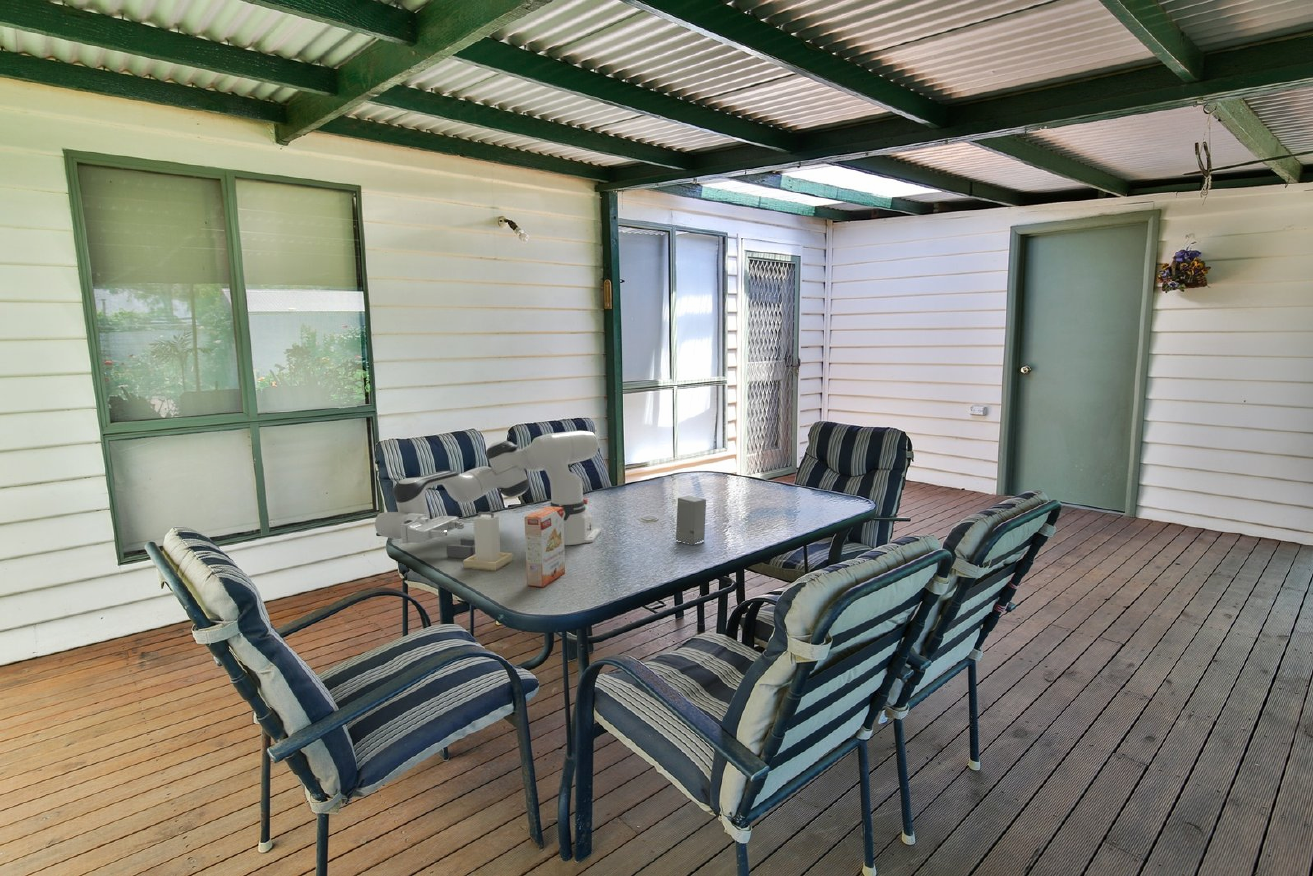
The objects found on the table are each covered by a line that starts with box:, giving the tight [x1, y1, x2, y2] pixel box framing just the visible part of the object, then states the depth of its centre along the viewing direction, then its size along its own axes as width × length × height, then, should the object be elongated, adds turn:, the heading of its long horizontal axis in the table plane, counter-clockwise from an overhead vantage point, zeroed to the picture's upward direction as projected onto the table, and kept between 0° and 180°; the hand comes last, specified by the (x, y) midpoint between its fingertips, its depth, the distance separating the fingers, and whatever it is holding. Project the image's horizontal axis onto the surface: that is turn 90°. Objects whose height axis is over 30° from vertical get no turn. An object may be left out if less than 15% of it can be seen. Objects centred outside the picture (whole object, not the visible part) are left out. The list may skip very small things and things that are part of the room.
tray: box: [462, 551, 514, 572], centre depth 227 cm, size 11×12×2 cm
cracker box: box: [524, 505, 566, 588], centre depth 210 cm, size 14×6×21 cm, turn 160°
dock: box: [446, 537, 475, 559], centre depth 239 cm, size 9×10×4 cm
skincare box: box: [675, 495, 707, 545], centre depth 247 cm, size 8×7×16 cm
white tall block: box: [472, 511, 501, 562], centre depth 226 cm, size 5×6×16 cm
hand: (454, 529), depth 230 cm, fingers open, 8 cm apart
